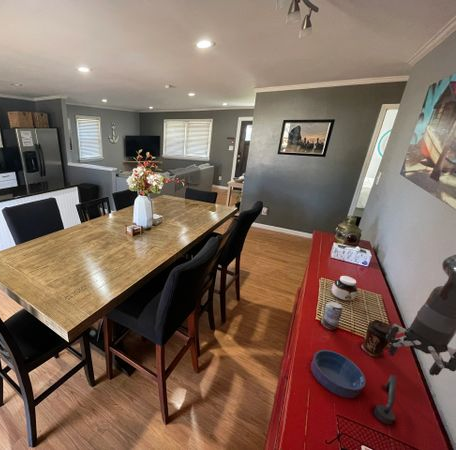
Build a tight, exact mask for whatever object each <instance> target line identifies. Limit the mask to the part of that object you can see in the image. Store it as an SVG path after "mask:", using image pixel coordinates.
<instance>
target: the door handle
mask: <svg viewBox="0 0 456 450" xmlns="http://www.w3.org/2000/svg"><path fill="white" fill-rule="evenodd" d="M396 386H397V376H396V375H394V374H391V375H390V377H389V379H388V381H387V382H386V384H385V386H384V389H385V391H388V396H387V405H384V404H377V405H376V406H375V408H374V410H373V413H374V415H375V417H376V419H378V420H379V421H380V422H382V423H383V424H385V425H392V424H393V422H394V421H395V420H396V414H395V413H394V412H393V411H392V410H391V409H392V408H393V406H395V400H396V398H395V397H396V388H397V387H396Z"/></svg>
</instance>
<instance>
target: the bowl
mask: <svg viewBox="0 0 456 450" xmlns="http://www.w3.org/2000/svg"><path fill="white" fill-rule="evenodd" d="M310 370H311V373H312V374H313V375H312V376H313V377H314V378H315V380H317V382H318V383H319V384H320V385H321V386H323V387H324V388H325V390H326V389H327V390H328V391H329V392H331V393H332V394H334V395H337V396H339V397H342V398H346V399H354V398H357V397H358V396H360V395H361V393H362V391H363V390H364V388H365V386H366V378H365V377H366V376H365V374H364V373H363V371H362V370H361V368H360V367H359V366H358V365H356V363H355V362H354V361H352V360H351V359H350V358H348V357H347V356H344V355H343V354H341V353H340V352H339V353H338V352H336V351H333V350H328V349H320V350H318V351H316V352H315V353H314V356H313V358H312V361H311V363H310Z"/></svg>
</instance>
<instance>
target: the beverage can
mask: <svg viewBox="0 0 456 450" xmlns="http://www.w3.org/2000/svg"><path fill="white" fill-rule="evenodd" d="M342 313H343V306H342V305H341V304H339V302H335V301H328V302H327V303H326V305H325V308H324V311H323V314H322V318H321V321H320V323H321V324H322V326H323V327H324V328H326V329H328V330H337V328H338V325H339V322H340V320H341V317H342Z"/></svg>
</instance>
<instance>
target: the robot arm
mask: <svg viewBox="0 0 456 450" xmlns="http://www.w3.org/2000/svg"><path fill="white" fill-rule="evenodd" d="M441 267H442V270H443V272H444V273H445V274H446V275H447V277H448V278H447V281H446V282H445V283H444V285H438V286H436V287H434V288H433V289H432V291H431V293H430V294H429V296H428V297H427V299H426V301H425V302H424V304H423V305H422V306H421V307H420V308H419V310H418V311H417V313H416V316H415V317H414V319H413V321H412V322H411V324H410V326H409V327H408V328H404V327H402V326H401V325H400V324H399V323H398V322H394V323H393V324H392V325H391V329H390V330H389V332H388V333H387V335H386V341H388V342H390V344H389V347H388V353H389V356H391V357H394V356H395V354H396V352H397V351H398V349H399V348H400V347H404V348H405V347H412V348H413V349H414V350H418V351H421V352H422V353H425V354H427V355H431V356H432V358H433V360H434V362H433V363H432V364H431V367H430V368H429V370H428V374H429V375H430V376H432V377H434V376H439V375H440V373H441V372H442V370H443V369H447V370H449V371H450V372H456V348H453V347H449V344H450V342H451V341H452V340H453V338H454V336H455V335H456V254H453V255H451V256H447V258H445V259H444V260H443V262H442V264H441ZM402 333H403V334H404V335H403V336H401V337H398V338H397V337H396V336H395V335H397V334H398V335H400V334H402ZM394 336H395V337H396V338H394ZM446 352H448V354H449V356H450V358H449V360H448V361H445V360H444V359H443V357H442V355H441V354H442V353H446Z"/></svg>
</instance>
